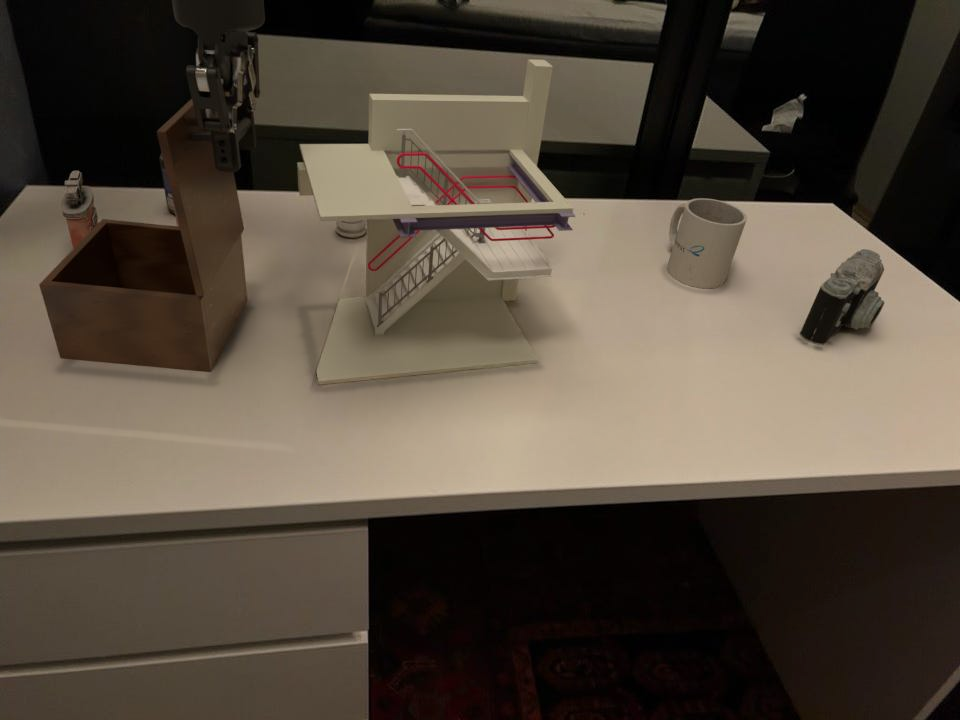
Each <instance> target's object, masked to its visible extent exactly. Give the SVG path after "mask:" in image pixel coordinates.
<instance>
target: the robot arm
mask: <svg viewBox="0 0 960 720" xmlns="http://www.w3.org/2000/svg"><path fill="white" fill-rule="evenodd" d="M171 4H172V11H173V16H174V19H175V20H174V21H176V23H177V24H178V25H180V26H181V27H183V28H185V29H190V30H191V31H193V32H194V33H196V35H197V48H196V50H195V65H192V64H187V65H186V68H185V75H186V80H187V86H188V88H189V93H190V97H191V99H192V101H193V106H194V110H195V114H196V118H197V122H198V126H199V130H200V131H206V132H211V138H212V145H213V152H214V160H215V166H216V168H217V169H218V170H219V171H226V172H234V173H237V172H238V171H239V170H240V169H241V167H242V162H241V152H240V150H241V151H242V150H243V151H254V150H255V148H256V147H257V134H256V124H255V115H254V111H256V107H257V101H256V99H259V98H260V95H261V88H260V87H261V85H260V64H259V63H260V60H259V59H260V57H259V36H258V33H257V32H251V31H254V30H255V31H256V30H258V29H259V28H261V27H262V26H263V25H264V24H265V22H266V14H265V13H266V11H265V0H171ZM205 109H206V111H205ZM215 110H216V111H217V112H218V116H219V118H215ZM241 113H243V114H246V115H248V116H249V117H250V119H251V122H252V124H251V127H250V128H249V130H248V131H247V132H246V133H245V135H244V136H243V137H242V138H241V140H240V141H239V142H238V134H237V115H238V114H241Z"/></svg>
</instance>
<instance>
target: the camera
mask: <svg viewBox="0 0 960 720" xmlns="http://www.w3.org/2000/svg"><path fill="white" fill-rule="evenodd" d="M882 261H883V260H882V259H881V255H880V254H879V253H878V252H876V251H874V250H871V249H867V248H866V249H860V250H857V251H856V252H855V253H854V254H852V255H851V256H850V257H848V258H847V259H846V260H845V261H843V262H841V263H840V265H839V266H838V267H837V268H836V270H835V271H834V272H830V274H829V275H830V277H829V278H827V279H826V280H825V281H824V282H823V283H822V284H821V285H820V286H819V290H818V292H817V294H816V296H815V299H814V301H813V303H812V305H811V307H810V309H809V312H808V314H807V316H806V319H805V321H804V323H803V325H802V328H801V330H800V332H799V335H800V337H802V338H803V339H804V340H806V341H807V342H810V343H812V344H815V345H820V346H821V345H823V346H824V345H825V344H826V343H827V342H828V341H829V340H830V339H831V338H832V337H833V336H834V335H835V334H836V333H838V331H839V330H840V329H841V328H842V327H844V328H848V329H849V330H850V329H854V330H859V329H862V330H864V329H870V328H871V327H872V326H873V325H874V323H875V322H876V321H877V318H878V317H879V315H880V313H881V311H882V309H883V307H884V305H885V301H884V300H882V297H881V296H879V294H880V293H879V291H876V288H877V286H878V284H879V282H880V280H881V277H882V276H883V274H884V272H885V266H884V264H883V262H882Z"/></svg>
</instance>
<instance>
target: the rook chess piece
mask: <svg viewBox="0 0 960 720" xmlns="http://www.w3.org/2000/svg"><path fill="white" fill-rule="evenodd" d="M335 225H336V226H335V232H336V233H337V234H338V235H339V236H341V237H343V238H346V239H357V238H361V237H362V236H364V235H365V234H366V233H367V227H366V226H367V221H366V220H343V221H335Z"/></svg>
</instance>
